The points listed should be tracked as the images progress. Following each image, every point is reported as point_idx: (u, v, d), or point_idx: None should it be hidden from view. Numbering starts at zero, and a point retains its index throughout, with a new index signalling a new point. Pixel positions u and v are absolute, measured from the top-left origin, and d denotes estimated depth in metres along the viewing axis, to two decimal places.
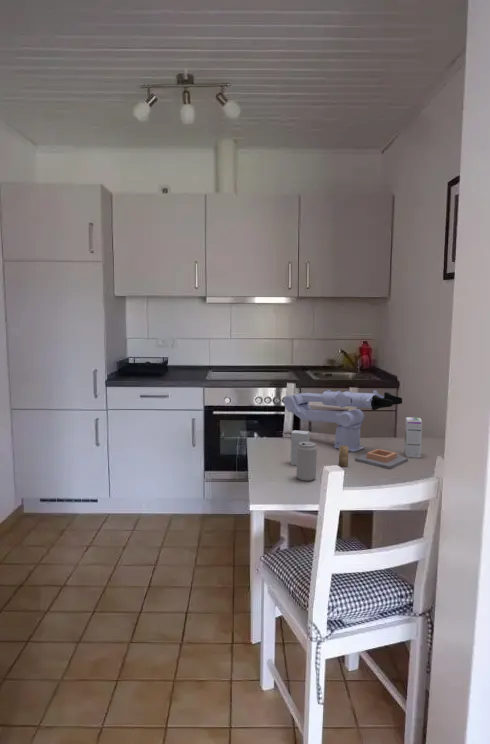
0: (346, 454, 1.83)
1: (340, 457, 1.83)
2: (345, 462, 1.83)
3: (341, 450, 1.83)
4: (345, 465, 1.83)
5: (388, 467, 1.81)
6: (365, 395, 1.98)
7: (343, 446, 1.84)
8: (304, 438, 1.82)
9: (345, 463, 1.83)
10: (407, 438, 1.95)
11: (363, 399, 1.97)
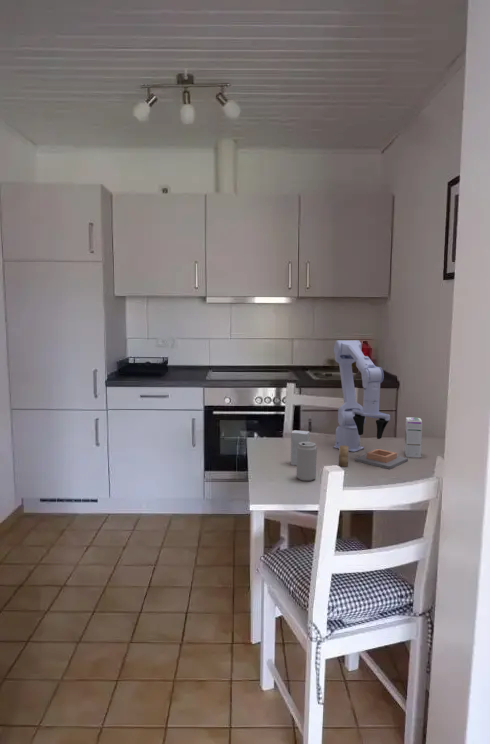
0: (346, 454, 1.83)
1: (340, 457, 1.83)
2: (345, 462, 1.83)
3: (341, 450, 1.83)
4: (345, 465, 1.83)
5: (388, 467, 1.81)
6: (363, 404, 1.87)
7: (343, 446, 1.84)
8: (304, 438, 1.82)
9: (345, 463, 1.83)
10: (407, 438, 1.95)
11: None
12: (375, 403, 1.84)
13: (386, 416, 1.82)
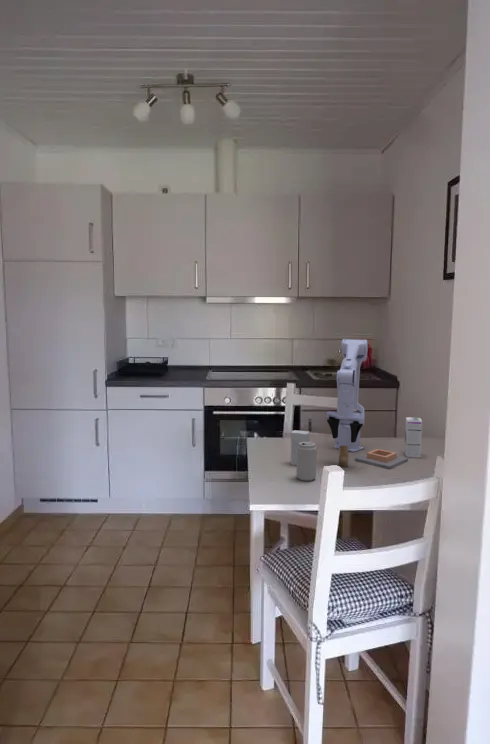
0: (346, 454, 1.83)
1: (340, 457, 1.83)
2: (345, 462, 1.83)
3: (341, 450, 1.83)
4: (345, 465, 1.83)
5: (388, 467, 1.81)
6: (337, 406, 1.81)
7: (343, 446, 1.84)
8: (304, 438, 1.82)
9: (345, 463, 1.83)
10: (407, 438, 1.95)
11: None
12: (349, 406, 1.79)
13: (360, 419, 1.77)
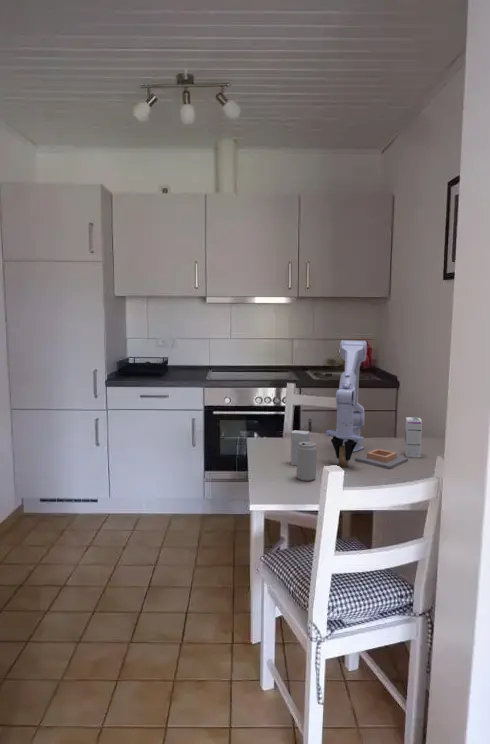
0: None
1: (340, 457, 1.83)
2: (345, 462, 1.83)
3: (341, 450, 1.83)
4: (345, 465, 1.83)
5: (388, 467, 1.81)
6: (337, 426, 1.82)
7: (343, 446, 1.84)
8: (304, 438, 1.82)
9: (345, 463, 1.83)
10: (407, 438, 1.95)
11: None
12: (348, 425, 1.80)
13: (359, 439, 1.78)
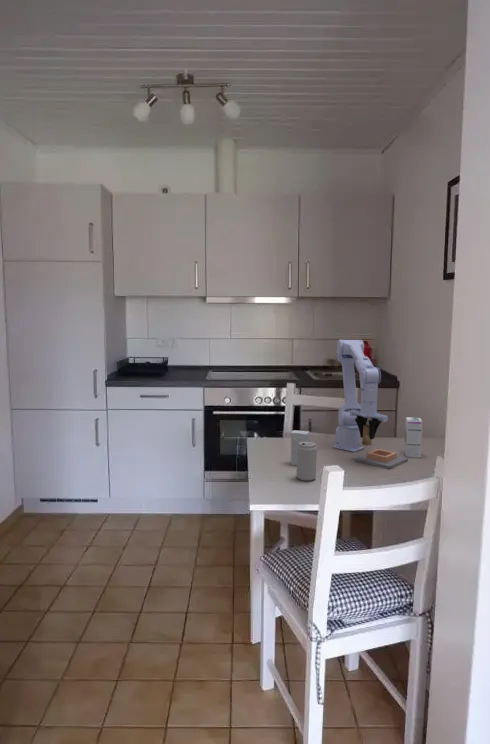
0: None
1: (364, 436, 1.86)
2: (369, 440, 1.86)
3: (365, 428, 1.85)
4: (369, 444, 1.86)
5: (388, 467, 1.81)
6: (361, 405, 1.85)
7: (367, 425, 1.87)
8: (304, 438, 1.82)
9: (369, 442, 1.86)
10: (407, 438, 1.95)
11: None
12: (372, 404, 1.83)
13: (383, 417, 1.81)
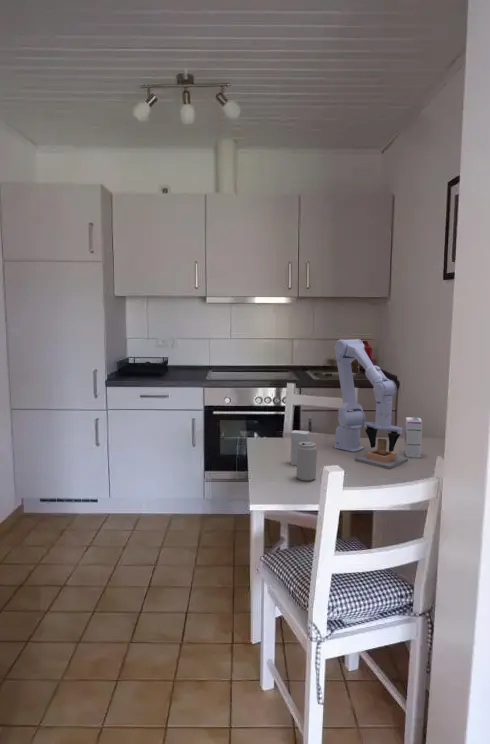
0: (384, 447, 1.89)
1: (378, 450, 1.89)
2: (383, 455, 1.89)
3: (380, 443, 1.89)
4: None
5: (388, 467, 1.81)
6: (376, 417, 1.88)
7: (382, 439, 1.90)
8: (304, 438, 1.82)
9: None
10: (407, 438, 1.95)
11: None
12: (387, 416, 1.86)
13: (398, 429, 1.84)
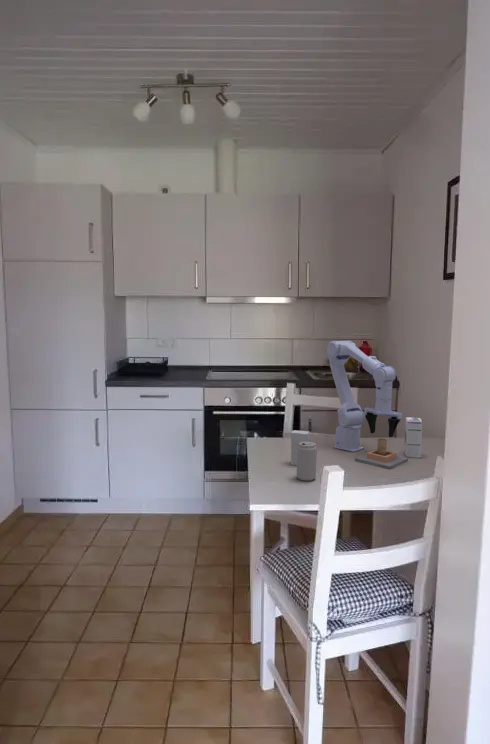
0: (384, 447, 1.89)
1: (378, 450, 1.89)
2: (383, 455, 1.89)
3: (380, 443, 1.89)
4: None
5: (388, 467, 1.81)
6: (376, 403, 1.90)
7: (382, 439, 1.90)
8: (304, 438, 1.82)
9: None
10: (407, 438, 1.95)
11: None
12: (387, 402, 1.88)
13: (398, 415, 1.85)
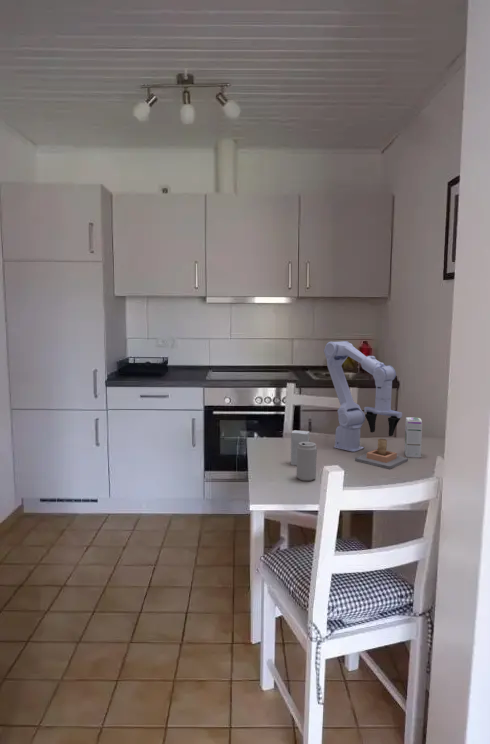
0: (385, 447, 1.89)
1: (379, 450, 1.89)
2: (384, 455, 1.89)
3: (380, 443, 1.88)
4: None
5: (388, 467, 1.81)
6: (375, 402, 1.91)
7: (382, 439, 1.90)
8: (304, 438, 1.82)
9: None
10: (407, 438, 1.95)
11: None
12: (387, 401, 1.89)
13: (398, 414, 1.87)
